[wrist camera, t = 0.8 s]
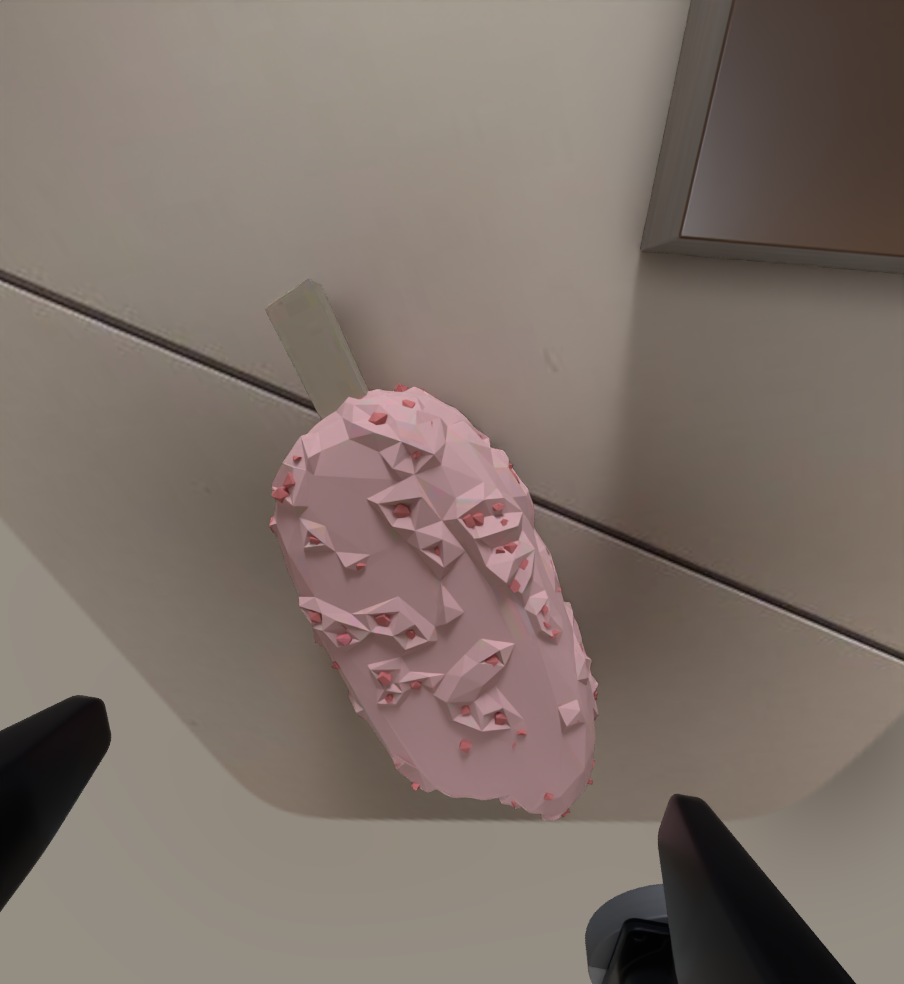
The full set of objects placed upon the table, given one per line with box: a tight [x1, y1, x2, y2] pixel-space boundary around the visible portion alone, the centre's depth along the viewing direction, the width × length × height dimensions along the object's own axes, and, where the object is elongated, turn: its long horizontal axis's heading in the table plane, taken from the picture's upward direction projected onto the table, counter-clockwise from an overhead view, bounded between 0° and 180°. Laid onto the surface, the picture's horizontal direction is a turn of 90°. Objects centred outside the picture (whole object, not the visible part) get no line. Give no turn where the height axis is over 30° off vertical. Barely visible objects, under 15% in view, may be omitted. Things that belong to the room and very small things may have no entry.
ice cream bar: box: [265, 279, 599, 820], centre depth 13 cm, size 6×4×15 cm
